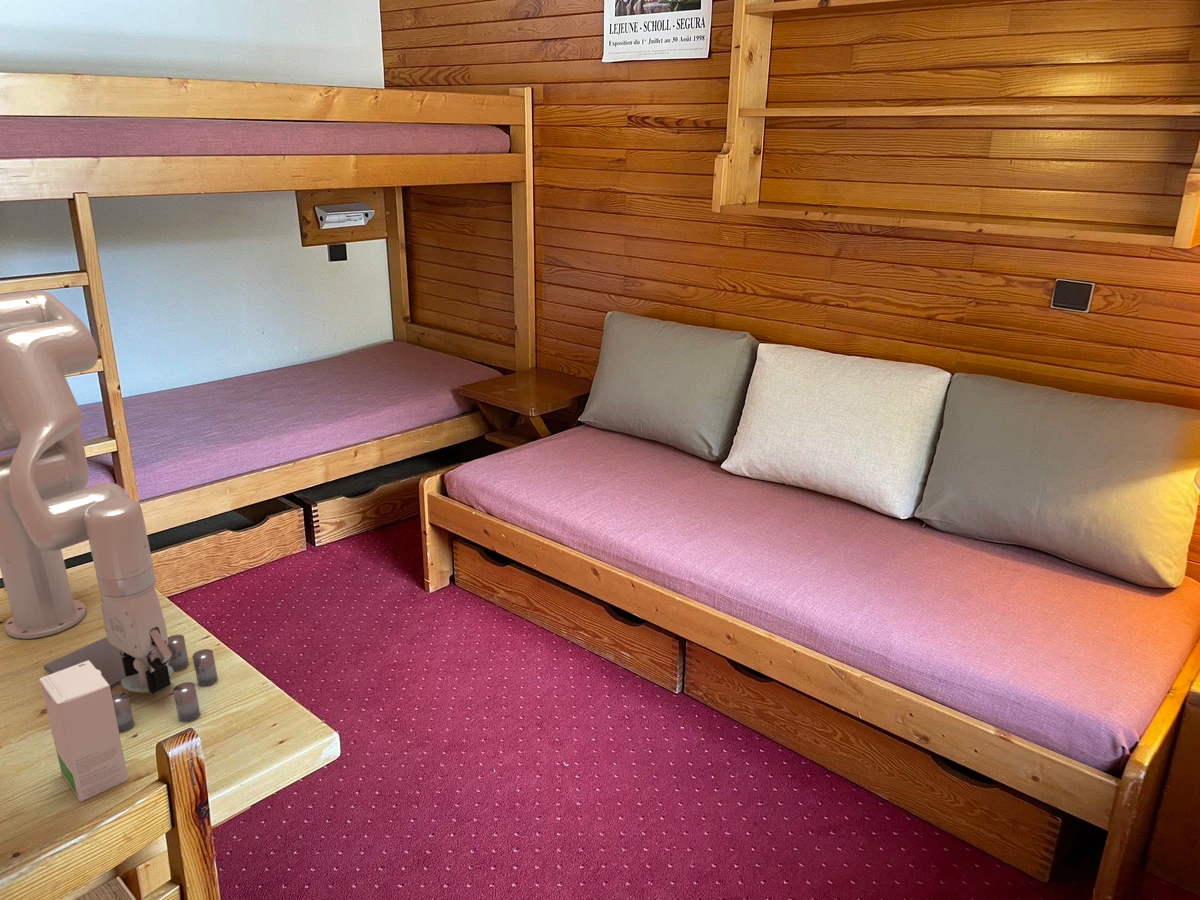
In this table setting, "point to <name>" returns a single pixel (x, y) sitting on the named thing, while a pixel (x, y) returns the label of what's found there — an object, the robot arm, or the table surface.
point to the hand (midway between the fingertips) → (148, 681)
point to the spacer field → (182, 692)
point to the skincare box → (84, 729)
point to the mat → (95, 661)
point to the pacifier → (139, 677)
